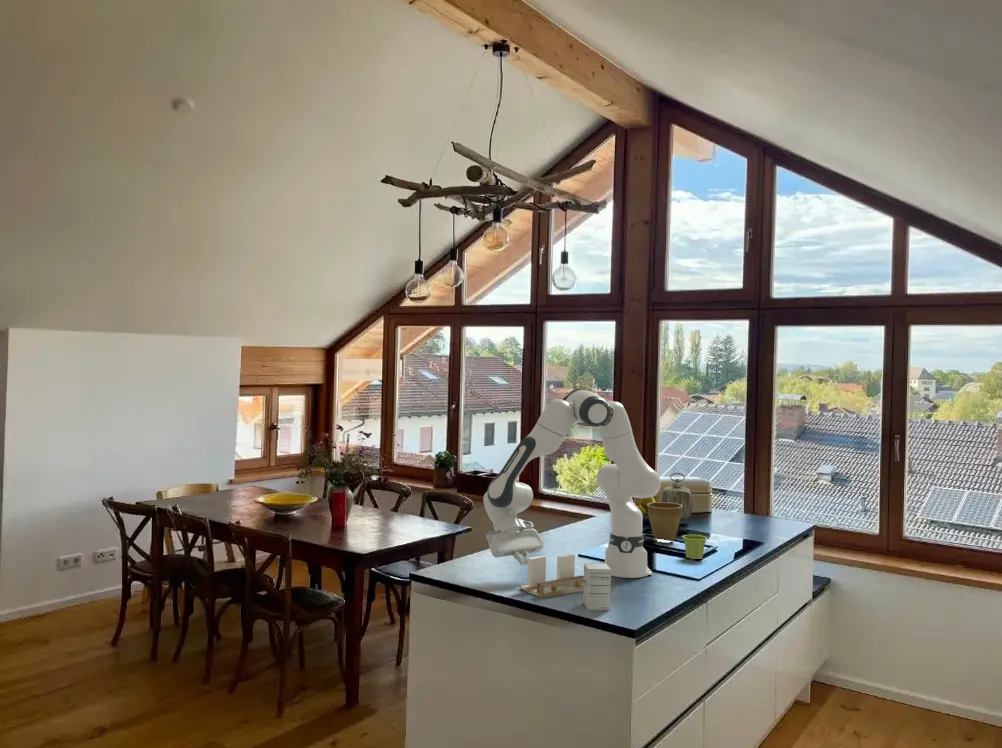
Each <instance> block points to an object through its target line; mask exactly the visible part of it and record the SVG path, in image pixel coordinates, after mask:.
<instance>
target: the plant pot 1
mask: <svg viewBox="0 0 1002 748" xmlns="http://www.w3.org/2000/svg"><path fill="white" fill-rule="evenodd" d="M646 506H647V512H648V513H647V514H648V517H649V523H650V527H651V531H652V533H653V537H654V539H655V538H657V539H664V540H675V538H676V536H677V533H678V529H679V526H680V521H681V519H682V518H681V512H682V505H680V504H676V503H665V502H662V501H661V502H657V501H656V502H649V503H647V505H646Z"/></svg>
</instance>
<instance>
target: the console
mask: <svg viewBox="0 0 1002 748" xmlns="http://www.w3.org/2000/svg"><path fill="white" fill-rule="evenodd" d="M583 584H584V575H577V576H575V575H574V577H570V578H564V579H558V580H557V579H552V580H545V582H540V583H537V586H532V587H531V586H528V585H527V584H523V585H519V590H520V589H523V590H525V591H528V592H530V593H532V594H531V595H533V594H535V595H537V596H536V597H538V596H539V597H538V598H540V597H542V598H541V599H546V598H545V597H548V598H552V597H551V596H553V597H558V596H557V595H559V596H562V595H561V594H564V595H569V594H573V593H574V592H575V593H579V592H583ZM525 591H524V592H525ZM530 593H529V594H530ZM568 593H569V594H568ZM535 595H534V596H535Z"/></svg>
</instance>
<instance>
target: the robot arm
mask: <svg viewBox="0 0 1002 748" xmlns="http://www.w3.org/2000/svg"><path fill="white" fill-rule="evenodd" d="M578 422H581V423H583V424H585V425H587V426H589V427H598V428H599V432H600V436H601V440H602V444H603V449H604V453H605V455H606V457H607V458H608V459H609V460H610V461H612V462H613V463H609V464H603V465H602V466H601V467H600V468H599V470H598V471H597V474H596V484H597V485H598V488H600V490H602V492H603V493H604V495H605V498H606V499H607V501H608V505H609V509H610V516H611V517H610V518H611V520H610V521H611V524H610V525H611V528H610V529H611V532H610V534H609V546H607V547H606V549H605V551H604V557H605V558H604V563H605V564H607V565H608V566H609V568H610V569H611V577H616V578H617V577H618V578H625V579H626V578H627V579H629V578H630V579H634V578H635V579H637V578H643V577H649V576H648V575H651V576H653V571H652V570H651V569H650V568H649V567H648V564H649V563H648V551H647V550H646V549H645V548H644V546H643V545H644V540H645V539H644V535H643V523H644V522H643V519H644V518H643V516H644V515H643V513H642V511H641V509H640V508H639V507H638V506H637V505H636V504H635V503H634V500H633V498H637V499H647V498H648V499H650V498H653V497H655V496H656V495H657V494H658V493H659V492H660V489H661V484H662V483H661V482H662V481H661V478H660V475H659V474H658V472H657V471H655V470H654V469H653V468H651V466H650V465H649V464H648V463H647V462H646V461H645V460H644V458H643V457H642V455H641V453H640V452H639V449H638V446H637V444H636V441H635V437H634V434H633V433H634V432H633V428H632V425H631V422H630V418H629V415H628V413H627V411H626V409H625V407H624V405H623V404H622V403H620V402H619V401H615V400H613V401H612V400H611V401H606V399H605V398H603V397H602V396H600V395H598V394H597V393H596V392H594V391H590V390H588V389H586V388H575V389H573V390H571V391H570V392H569V393H568V394H567V395H566V396H564V397H563V398H562V399H561V398H555V399H552V400H551V401H550V402H549V403H548V404H547V405H546V407H545V408H544V409H543V411H542V412H541V414H540V416H539V417H538V419H537V422H536V423H535V425H534V427H533V428H532V430H531V431H530V433H529V434H528V435H526V436H525V438H523V439H522V440H521V441H520V442H519V443H518V445H517V446H516V448H515V449H514V450H513V452H512V454H511V455H510V457H509V458H508V460H506V463H504V465H503V467H502V468H501V470H500V472H499V473H497V475H496V476H495V477H494V478H492V480H491V481H490V482H489V484H488V487H487V491H486V492H485V493H484V495H483V505H484V508H485V511H486V513H487V516H488V517H489V519H490V520H491V522H492V523H493V525H492V526H493V529H494V531H488V532H487V533H486V535H485V538H486V540H487V542H488V546H489V551H490V553H491V555H492V556H493V557H494V558H503V557H511V556H512V557H513V558H514V560H516V561H517V562H518V563H519V564H520V566H528V558H529V554H532V553H539V552H540V551H541V550H543V548H544V541H543V539H542V537H541V535H540V533H539V532H538V531H537V530H536V529H535V528H534V526H535V525H534V523H533V522H532V521H528V520H524V519H521V518H518V517H517V515H518V514H520V513H522V512H524V511H525V510H527V509H528V508H530V506H531V505H532V503H533V501H534V491H533V489H532V487H531V485H529V484H526V483H524V482H520V481H517V480H518V479H519V477H520V475H521V473H523V471H524V469H525V467H526V466H527V465H528V463H530V462H531V461H532V460H534V459H536V458H539V457H543V456H548V455H552V454H554V453H555V452H557V451H558V449H559V448H561V446H562V444H563V442H564V440H565V439H566V436H567V434H568V432H569V430H570V428H571V427H572V425H574V424H575V423H578Z"/></svg>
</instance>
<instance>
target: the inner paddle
mask: <svg viewBox="0 0 1002 748" xmlns="http://www.w3.org/2000/svg"><path fill="white" fill-rule="evenodd" d="M575 558H576V555H575V554H572V553H570V554H563V555H558V556H556V559H557V560H556V580H558V579H564V578H570V577H575V568H576V567H575V565H576V564H575V562H576V560H575Z"/></svg>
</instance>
